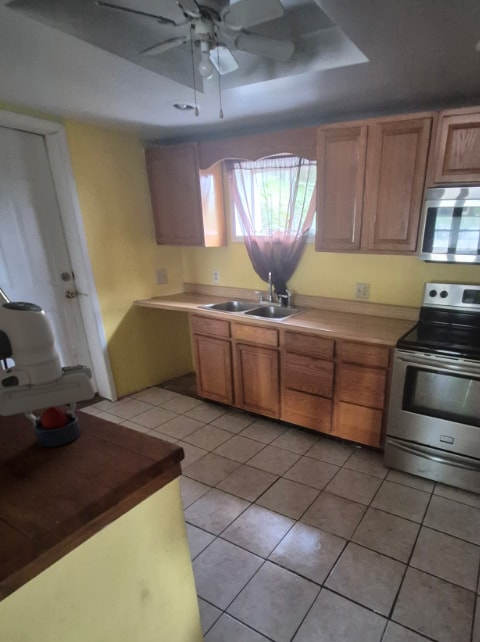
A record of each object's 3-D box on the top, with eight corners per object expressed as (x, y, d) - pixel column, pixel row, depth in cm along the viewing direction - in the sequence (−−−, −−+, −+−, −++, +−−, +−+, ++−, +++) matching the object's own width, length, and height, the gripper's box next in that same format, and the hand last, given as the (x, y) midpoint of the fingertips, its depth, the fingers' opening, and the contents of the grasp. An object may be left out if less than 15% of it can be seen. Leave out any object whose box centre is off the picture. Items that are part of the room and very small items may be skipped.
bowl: (28, 449, 92) (23, 431, 90) (51, 428, 101) (46, 412, 99) (69, 448, 92) (64, 430, 90) (88, 428, 101) (84, 412, 99)
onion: (67, 424, 99) (60, 397, 96) (74, 432, 96) (66, 405, 92) (42, 432, 96) (34, 404, 92) (48, 440, 92) (39, 412, 89)
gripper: (88, 359, 96) (98, 406, 102) (-11, 374, 86) (7, 426, 92) (90, 366, 92) (101, 416, 97) (-14, 383, 81) (5, 437, 87)
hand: (55, 421), depth 94 cm, fingers closed on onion, 6 cm apart
